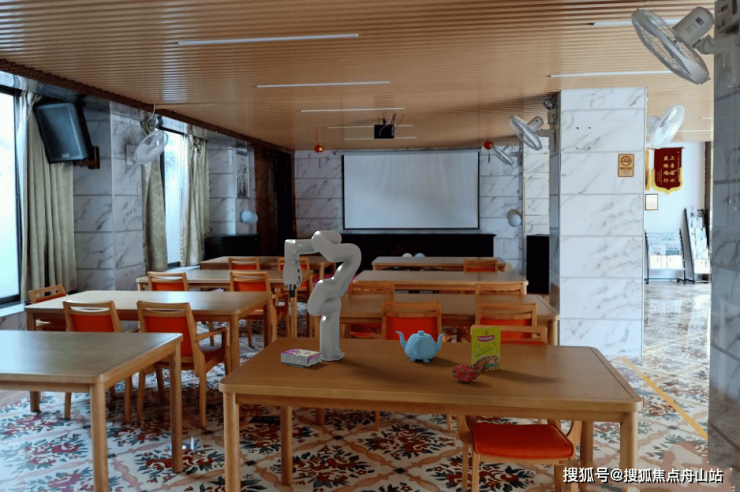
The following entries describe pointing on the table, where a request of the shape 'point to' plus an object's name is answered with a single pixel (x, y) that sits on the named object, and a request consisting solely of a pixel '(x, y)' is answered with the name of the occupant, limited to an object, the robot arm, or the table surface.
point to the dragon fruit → (465, 373)
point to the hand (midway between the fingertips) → (292, 297)
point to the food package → (486, 349)
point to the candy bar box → (301, 357)
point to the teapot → (421, 346)
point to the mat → (294, 365)
